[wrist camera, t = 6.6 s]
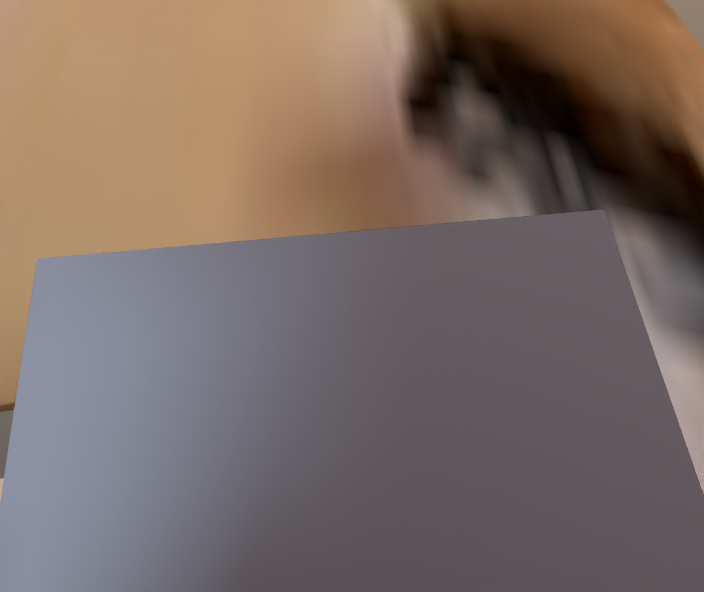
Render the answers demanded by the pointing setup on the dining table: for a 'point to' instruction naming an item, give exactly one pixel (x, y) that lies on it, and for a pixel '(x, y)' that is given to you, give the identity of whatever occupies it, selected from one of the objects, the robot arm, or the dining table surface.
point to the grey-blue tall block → (349, 419)
